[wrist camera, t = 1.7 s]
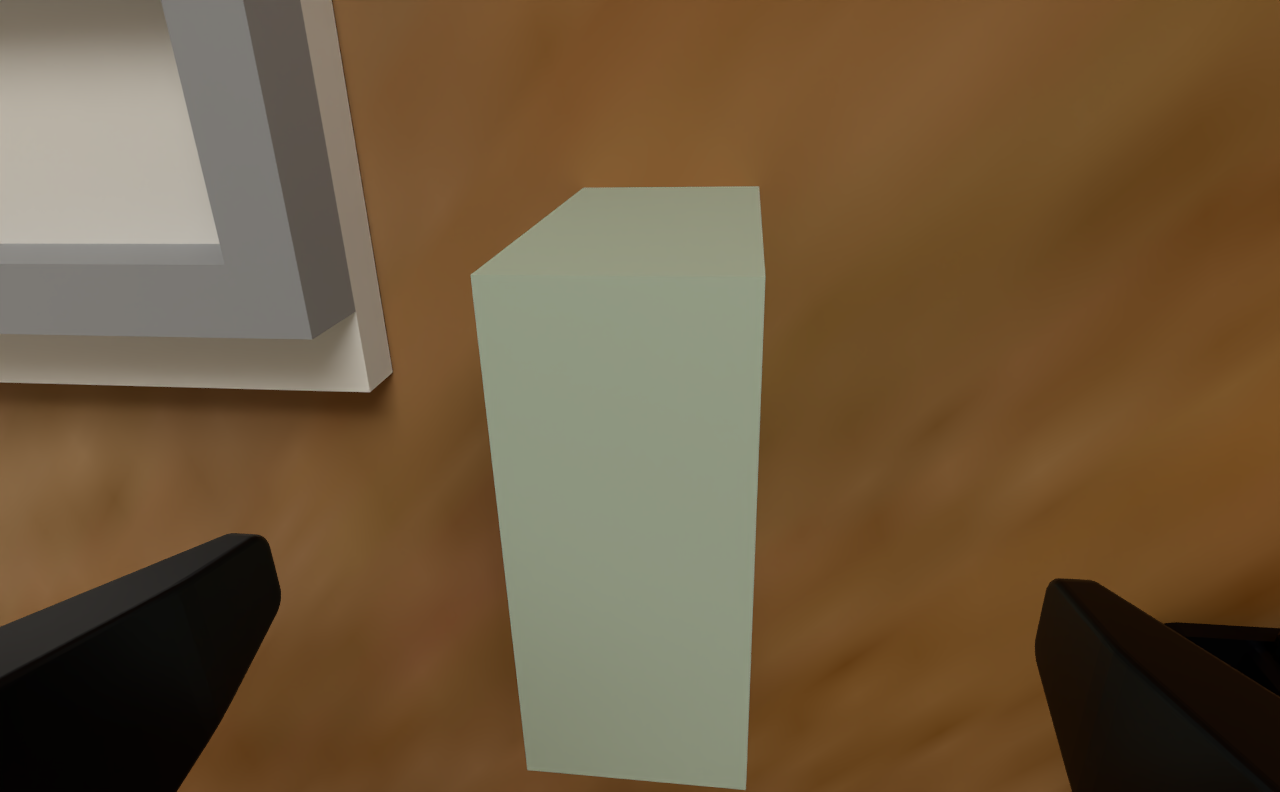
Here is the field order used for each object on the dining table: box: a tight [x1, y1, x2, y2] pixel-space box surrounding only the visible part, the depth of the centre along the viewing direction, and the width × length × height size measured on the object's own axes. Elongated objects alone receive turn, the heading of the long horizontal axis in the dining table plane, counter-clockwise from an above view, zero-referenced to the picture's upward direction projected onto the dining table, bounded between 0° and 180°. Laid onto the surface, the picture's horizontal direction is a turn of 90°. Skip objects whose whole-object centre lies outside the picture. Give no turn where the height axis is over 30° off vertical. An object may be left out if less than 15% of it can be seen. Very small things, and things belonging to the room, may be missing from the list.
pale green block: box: [471, 186, 765, 790], centre depth 12 cm, size 7×3×6 cm, turn 1°
